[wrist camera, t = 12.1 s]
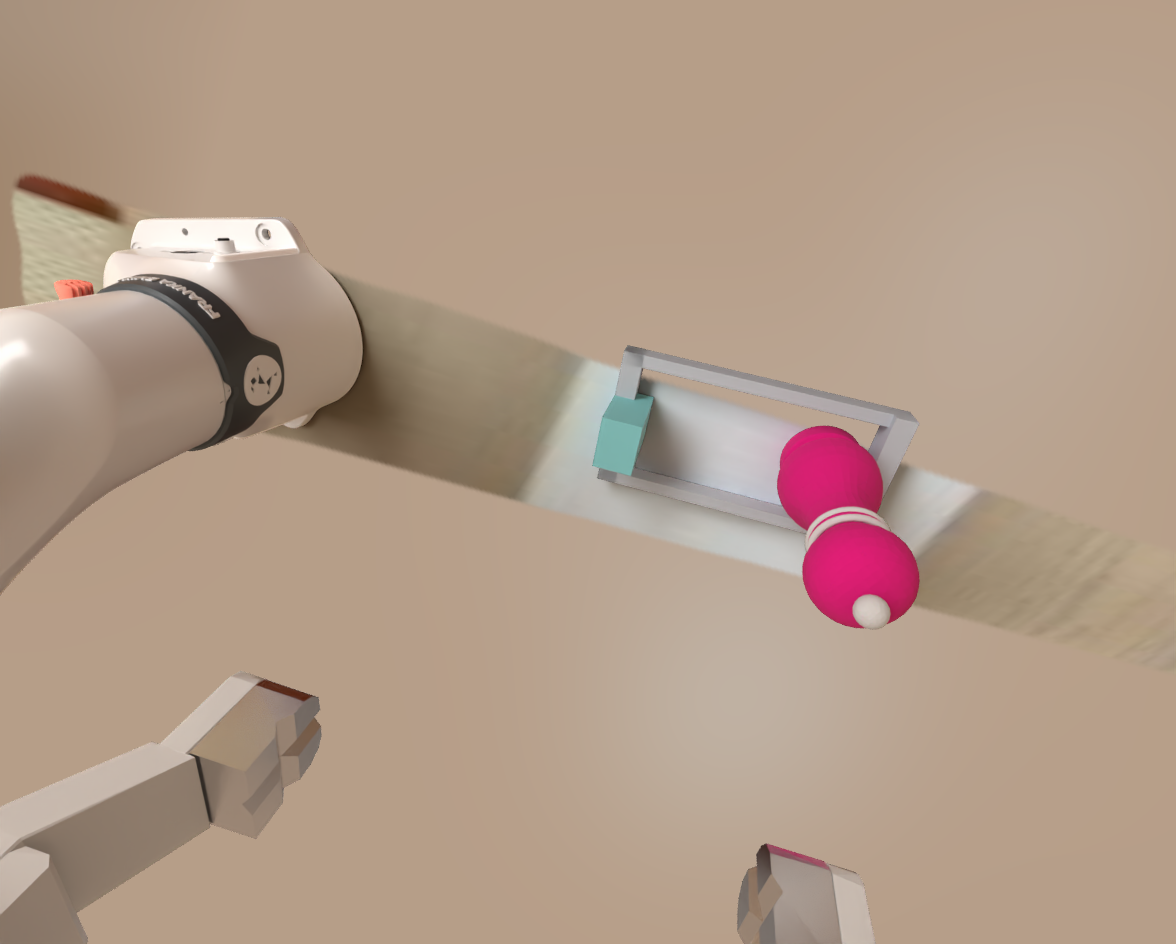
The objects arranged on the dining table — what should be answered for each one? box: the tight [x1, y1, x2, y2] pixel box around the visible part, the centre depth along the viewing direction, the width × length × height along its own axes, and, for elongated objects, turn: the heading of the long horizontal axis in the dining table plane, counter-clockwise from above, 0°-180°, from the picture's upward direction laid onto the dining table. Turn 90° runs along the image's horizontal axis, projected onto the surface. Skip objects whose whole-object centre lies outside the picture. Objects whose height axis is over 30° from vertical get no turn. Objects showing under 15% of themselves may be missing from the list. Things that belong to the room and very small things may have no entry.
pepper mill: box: [777, 426, 919, 629], centre depth 38 cm, size 7×7×20 cm
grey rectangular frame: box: [592, 346, 919, 534], centre depth 44 cm, size 22×11×7 cm, turn 80°
